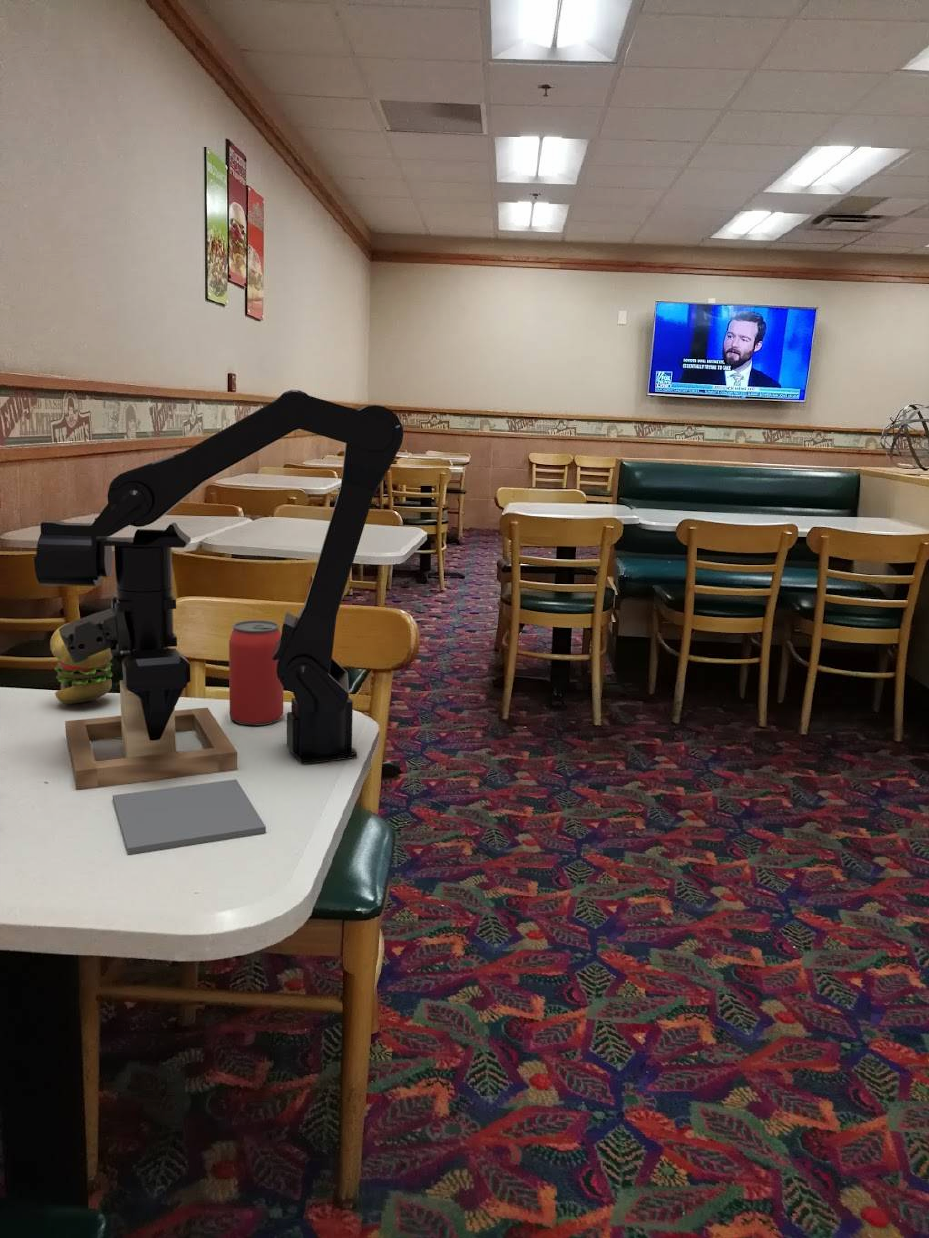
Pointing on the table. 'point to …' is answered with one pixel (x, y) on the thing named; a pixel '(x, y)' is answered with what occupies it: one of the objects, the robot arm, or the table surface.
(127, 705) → the maple block
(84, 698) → the hamburger
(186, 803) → the rubber mat
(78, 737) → the wooden frame
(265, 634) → the beer can
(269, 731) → the table surface
